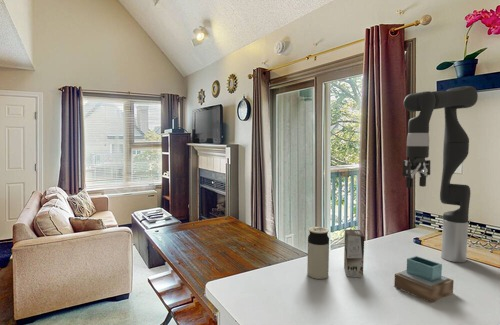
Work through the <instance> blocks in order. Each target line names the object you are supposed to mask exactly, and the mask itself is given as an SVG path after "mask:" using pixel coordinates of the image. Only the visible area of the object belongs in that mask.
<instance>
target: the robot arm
mask: <svg viewBox="0 0 500 325" xmlns="http://www.w3.org/2000/svg"><path fill="white" fill-rule="evenodd" d="M478 95H479V94H478V90H477V89H476V87H474V86H471V85H464V86H458V87H453V88H452V87H451V88H448V89H447V90H435V91H433V90H432V91H427V90H426V91H421V92H414V93H409V94H407V95H406V96H405V98H404V100H403V107H404V109H406V110H407V111H408V112H413V113H415V112H419V114H418V115H417V116H414V117H412V118H410V119H408V122H407V124H408V125H407V137H406V156H405V157H407V158H408V160H403V162H402V175H401V176H402V177H405V183H406V184H405V187H406V188H408V189H413V186H414V177H415V175H416V174H417V173H418V175H419V180H418V181H419V187H426V186H427V177H428V176H430V175H431V160H430V159H428V158H429V155H430V134H429V132H430V121H431V117H432V115H433V112H434V111H435V110H439V109H444V110H443V111H444V133H443V134H444V135H443V136H444V137H443V150H442V154H443V155H442V158H443V159H442V173H441V180H440V181H441V184H440V189H439V190H440V191H439V192H440V193H439V200H440V203H441V204H444V205H452V206H458V207H459V208H457V209H454V210H449V211H445V212H444V213H443V214H442V234H441V236H442V237H441V254H440V255H441V256H440V257H441V259H444V260H446V261H450V262H453V263H454V262H455V263H465V262H467V254H468V233H469V213H470V212H469V211H470V202H471V201H470V200H471V187H470V186H469V185H468V184H461V183H460V184H459V183H451V179H452V177H453V175H454V174H455V172H456V170H458V168H459V167H460V166H461V165H462V164H463V163H464V162H465V160H466V159H467V157H468V156H469V153H470V152H469V151H470V150H469V149H470V138H469V136H468V134H467V133H466V131H465V129H464V128H463V127H462V125H461V124H460V121H459V119H458V114H457V113H458V112H457V110H458V109H459V110H460V109H468V108H472V107H473V106H475V105H476V103H477V101H478Z"/></svg>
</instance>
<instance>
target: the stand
mask: <svg viewBox="0 0 500 325" xmlns="http://www.w3.org/2000/svg"><path fill="white" fill-rule="evenodd" d="M393 284H394V287H395V288H398V289H400V290H401V291H404V292H406V293H408V292H409V293H408V294H411V295H413V296H415V297H417V298H418V299H422V300H423V301H427V302H429V303H431V304H432V303H435V302H436V301H438V300H441V299H443V298H445V297H447V296H449V295H453V294H454V279H451V278H449V277H446V276H444V275H441V279H440V280H437V281H435V282H430V281H427V280H425V279H422V278H419V277H417V276H414V275H412V274H409V273H407V269H405V270H403V271H399V272H397V273H394V283H393Z"/></svg>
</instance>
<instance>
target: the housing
mask: <svg viewBox="0 0 500 325" xmlns="http://www.w3.org/2000/svg"><path fill="white" fill-rule="evenodd" d="M406 270H407V273H409V274H412V275H414V276H417V277H419V278H422V279H425V280H427V281H430V282H435V281H437V280H440V279H441V276H443V275H442V270H443V264H442V263H439V262H436V261H433V260H429V259H426V258H424V257H420V256H418V255H415V256H411V257H408V258H407V259H406Z"/></svg>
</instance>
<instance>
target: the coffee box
mask: <svg viewBox="0 0 500 325" xmlns="http://www.w3.org/2000/svg"><path fill="white" fill-rule="evenodd" d="M365 237H366V236H365V235H364V233H363V232H362V230H361V229H347V228H346V229H344V247H343V248H344V254H343V255H344V257H343V262H344V263H343V264H344V265H343V267H344V272H345V275H346V277H349V278H350V277H352V278H360V279H361V278H362V279H363V278H364V260H365V259H364V258H365V256H364V254H365Z"/></svg>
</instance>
